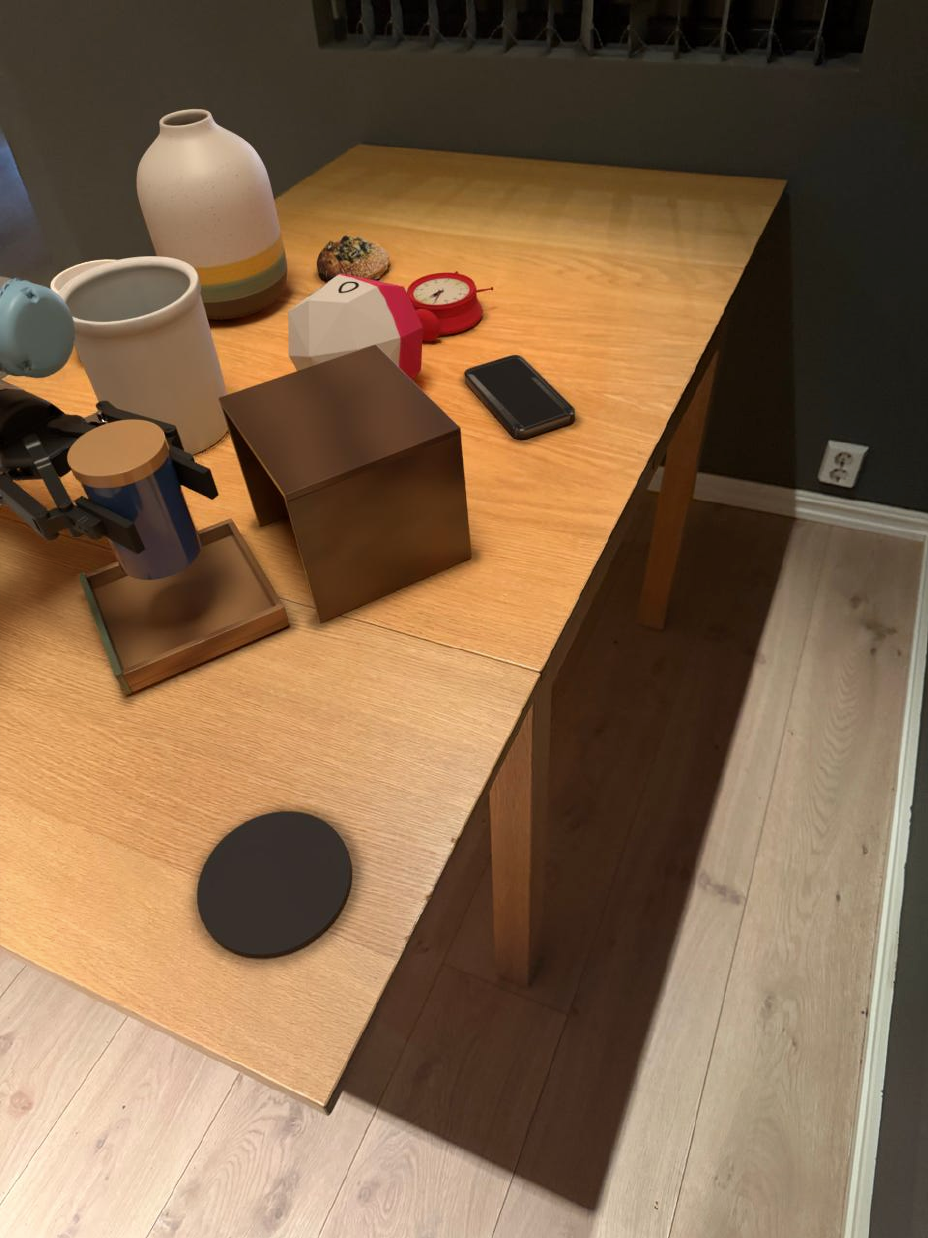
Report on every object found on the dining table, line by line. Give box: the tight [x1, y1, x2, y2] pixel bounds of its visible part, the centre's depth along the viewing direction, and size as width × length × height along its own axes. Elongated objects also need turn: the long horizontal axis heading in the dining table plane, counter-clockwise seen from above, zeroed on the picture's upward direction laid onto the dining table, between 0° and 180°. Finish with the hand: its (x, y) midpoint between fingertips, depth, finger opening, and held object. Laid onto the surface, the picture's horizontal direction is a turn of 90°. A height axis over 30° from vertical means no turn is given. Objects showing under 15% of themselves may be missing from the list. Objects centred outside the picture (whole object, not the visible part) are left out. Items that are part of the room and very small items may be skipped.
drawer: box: [77, 517, 291, 696], centre depth 82 cm, size 15×15×3 cm
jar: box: [67, 419, 202, 580], centre depth 74 cm, size 8×8×11 cm
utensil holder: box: [57, 255, 229, 456], centre depth 98 cm, size 15×15×18 cm
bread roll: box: [316, 234, 390, 282], centre depth 129 cm, size 11×11×5 cm
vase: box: [136, 108, 288, 321], centre depth 117 cm, size 17×17×24 cm
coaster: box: [196, 810, 353, 959], centre depth 63 cm, size 11×11×1 cm
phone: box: [463, 354, 576, 440], centre depth 103 cm, size 8×1×15 cm
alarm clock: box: [406, 271, 494, 342], centre depth 116 cm, size 10×6×15 cm
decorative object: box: [287, 273, 423, 380], centre depth 102 cm, size 15×15×15 cm
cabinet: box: [219, 345, 473, 624], centre depth 83 cm, size 16×17×15 cm
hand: (174, 510), depth 71 cm, fingers closed on jar, 7 cm apart
